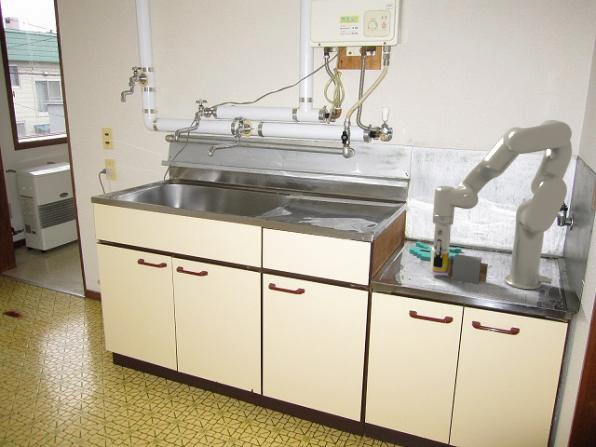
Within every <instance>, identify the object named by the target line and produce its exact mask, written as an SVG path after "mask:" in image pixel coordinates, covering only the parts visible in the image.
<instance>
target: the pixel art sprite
mask: <svg viewBox="0 0 596 447" xmlns="http://www.w3.org/2000/svg"><path fill="white" fill-rule="evenodd" d="M431 250H432V247H430V245H426V244H425V243H423V242H422V241H416V242H415V246H411V247H410V248H409V250H408V251H409V252H408V253H409V254H412V256H413V257H414V256H416V258H418V259H420V261H426V262H430V263H431ZM456 252H457V253H456ZM461 253H462V247H455V248H453V247H449V259H454V256H455V254H461Z"/></svg>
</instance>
